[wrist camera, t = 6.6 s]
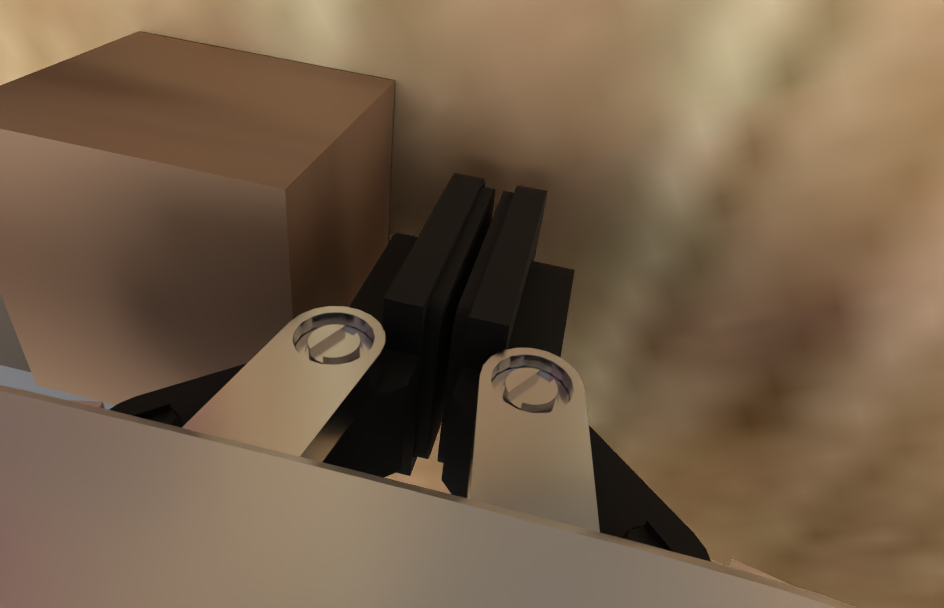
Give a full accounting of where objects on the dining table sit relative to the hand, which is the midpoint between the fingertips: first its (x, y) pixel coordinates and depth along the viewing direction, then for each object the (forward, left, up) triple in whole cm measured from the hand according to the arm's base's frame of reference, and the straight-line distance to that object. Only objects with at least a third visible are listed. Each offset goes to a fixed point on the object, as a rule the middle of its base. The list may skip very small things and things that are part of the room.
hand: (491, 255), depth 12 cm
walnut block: (0, +5, -1) cm, 5 cm away
